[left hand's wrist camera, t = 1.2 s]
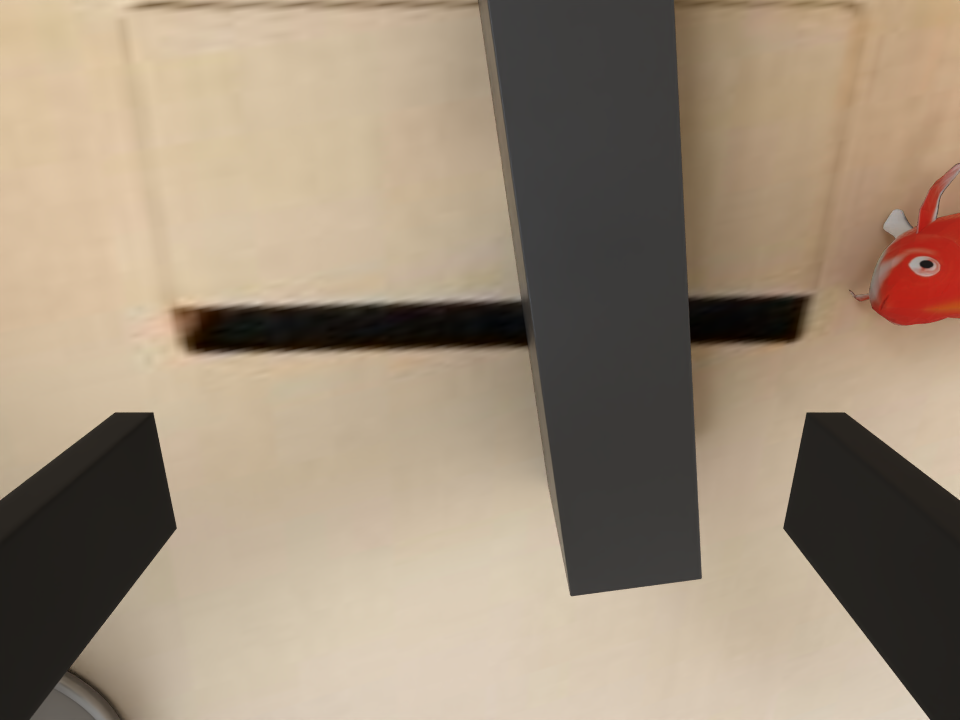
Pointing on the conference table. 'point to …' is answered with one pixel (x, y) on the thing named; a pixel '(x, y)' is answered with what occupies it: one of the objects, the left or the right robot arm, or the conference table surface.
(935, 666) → the left robot arm
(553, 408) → the bar
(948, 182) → the fish
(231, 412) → the conference table surface
